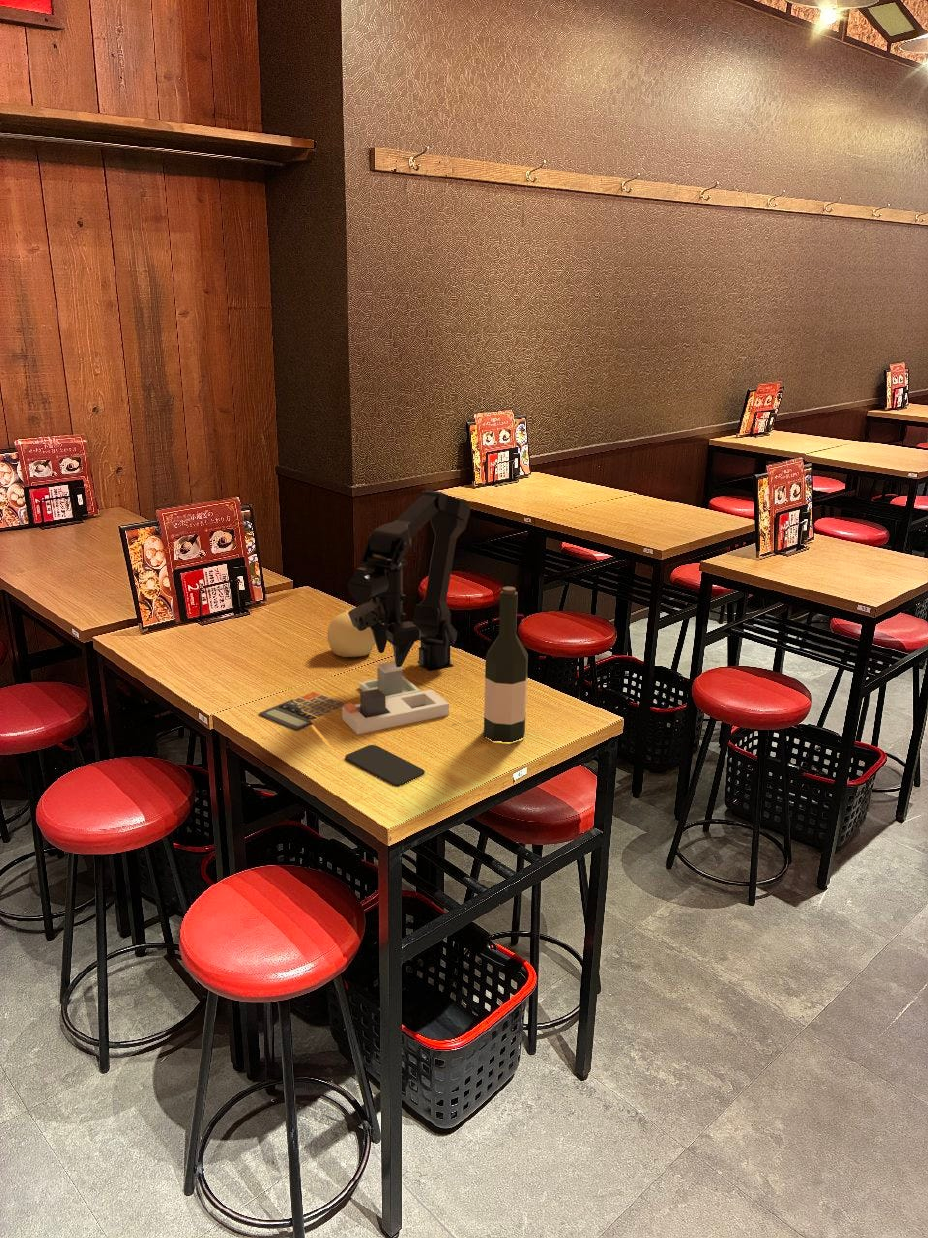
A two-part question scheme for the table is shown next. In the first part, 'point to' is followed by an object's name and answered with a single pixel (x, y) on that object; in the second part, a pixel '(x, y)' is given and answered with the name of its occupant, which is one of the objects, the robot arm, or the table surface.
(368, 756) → the phone
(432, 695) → the power strip
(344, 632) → the beige round lump
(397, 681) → the plug
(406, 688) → the tray
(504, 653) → the wine bottle
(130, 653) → the table surface
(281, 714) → the calculator
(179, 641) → the table surface
